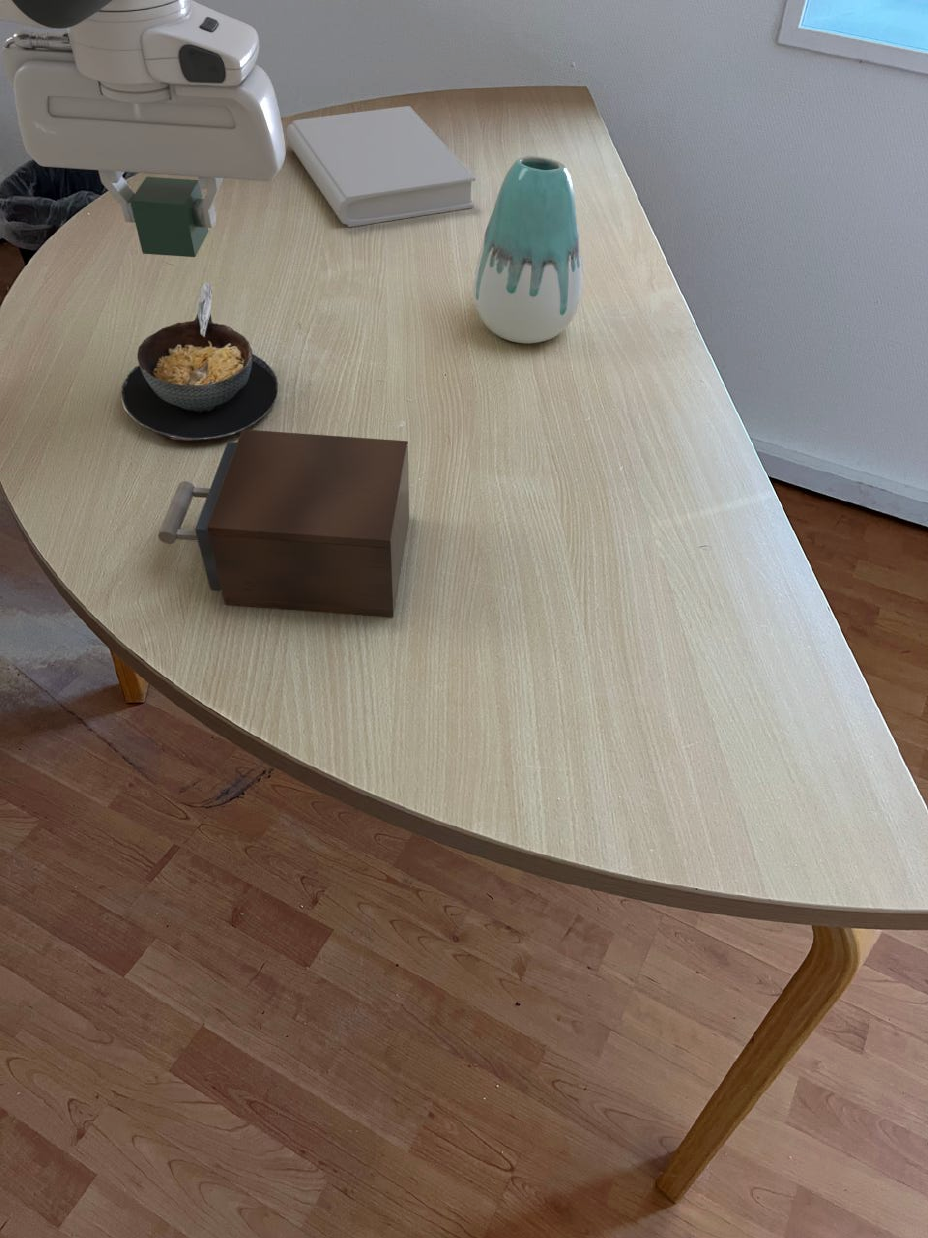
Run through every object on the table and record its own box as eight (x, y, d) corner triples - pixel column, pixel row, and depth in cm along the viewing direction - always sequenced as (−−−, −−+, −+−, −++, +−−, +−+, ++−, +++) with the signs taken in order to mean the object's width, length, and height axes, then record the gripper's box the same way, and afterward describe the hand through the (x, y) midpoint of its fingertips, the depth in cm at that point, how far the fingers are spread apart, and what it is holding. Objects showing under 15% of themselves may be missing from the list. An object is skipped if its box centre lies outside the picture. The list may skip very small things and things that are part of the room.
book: (409, 105, 131) (475, 177, 117) (409, 133, 134) (474, 207, 120) (284, 121, 126) (337, 198, 112) (287, 150, 129) (339, 229, 115)
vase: (527, 288, 108) (543, 125, 94) (598, 332, 102) (625, 166, 88) (450, 320, 103) (454, 153, 89) (519, 369, 97) (535, 199, 83)
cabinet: (224, 604, 74) (206, 527, 68) (256, 507, 82) (241, 428, 75) (393, 617, 74) (390, 540, 68) (409, 518, 82) (408, 440, 75)
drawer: (159, 586, 74) (139, 524, 69) (193, 499, 81) (177, 437, 76) (365, 602, 74) (361, 541, 69) (382, 513, 81) (379, 452, 75)
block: (142, 253, 78) (129, 200, 75) (158, 228, 81) (146, 176, 78) (195, 257, 78) (184, 204, 75) (208, 231, 81) (199, 179, 77)
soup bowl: (92, 420, 89) (70, 353, 83) (191, 337, 99) (177, 272, 93) (224, 465, 85) (210, 398, 80) (312, 375, 95) (305, 309, 89)
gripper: (-25, 43, 66) (36, 231, 76) (260, 61, 65) (282, 248, 76) (9, 14, 70) (64, 196, 80) (278, 31, 69) (297, 212, 80)
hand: (172, 222), depth 78 cm, fingers closed on block, 4 cm apart
